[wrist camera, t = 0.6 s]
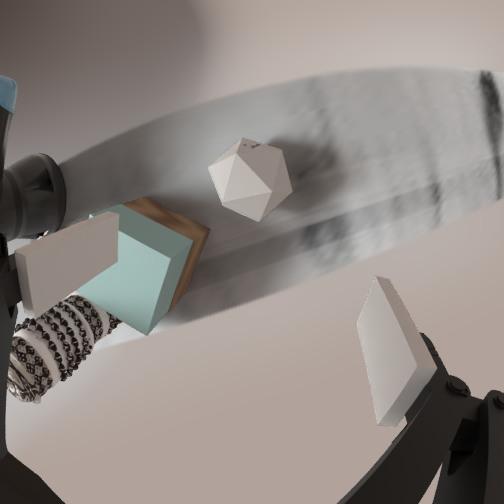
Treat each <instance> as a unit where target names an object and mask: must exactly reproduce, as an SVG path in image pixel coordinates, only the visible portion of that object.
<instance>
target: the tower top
mask: <svg viewBox="0 0 504 504" xmlns="http://www.w3.org/2000/svg"><path fill="white" fill-rule="evenodd" d="M107 211H109V212H114V213H118V214H119V231H118V262H117V263H115V264H114V265H112V266H111V267H109V268H108V269H106V270H105V271H103V272H102V273H100V274H99V275H97V276H96V277H94V278H93V279H91V280H90V281H88V282H87V283H86V284H84V285H83V286H81V287H80V288H78V291H77V292H78V293H80V294H81V295H83V296H84V297H86V298H87V299H89V300H90V301H92V302H93V303H95V304H96V305H98V306H99V307H101V308H102V309H104V310H105V311H107V312H108V313H110V314H111V315H113V316H115V317H116V318H118V319H119V320H121V321H123V322H124V323H126V324H128V325H129V326H131V327H133V328H134V329H136V330H138V331H139V332H141V333H143V334H144V335H146V336H147V335H148V334H149V333H150V332H151V331H152V329H153V328H154V327H155V326H156V325H157V324H158V322H159V321H160V320H161V319H162V318H163V317H164V315H165V314H166V313H167V312H168V310H169V307H170V304H171V301H172V298H173V296H174V293H175V290H176V287H177V284H178V281H179V279H180V276H181V273H182V270H183V267H184V265H185V262H186V259H187V257H188V254H189V251H190V249H191V246H192V243H193V240H191V239H189V238H187V237H185V236H183V235H181V234H179V233H177V232H175V231H173V230H171V229H169V228H167V227H165V226H163V225H161V224H159V223H157V222H155V221H153V220H151V219H149V218H147V217H145V216H143V215H141V214H139V213H137V212H136V211H134V210H132V209H130V208H128V207H126V206H124V205H122V204H117V205H114V206H111V207H109V208H106V209H103V210H100V211H97V212H94V213H91V214H89V218H92V217H94V216H97V215H99V214H102V213H105V212H107Z"/></svg>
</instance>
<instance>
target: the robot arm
mask: <svg viewBox="0 0 504 504" xmlns="http://www.w3.org/2000/svg"><path fill="white" fill-rule="evenodd" d="M17 89H18V88H17V84H16V82H15V81H14V80H12V79H11V78H7V77H5V76H1V75H0V504H65V503H64V502H63V501H62V500H61V499H60V498H59V497H58V496H57V495H56V494H55V493H54V492H53V491H52V490H51V489H50V488H49V487H48V485H47V484H46V483H45V482H44V481H43V480H42V479H41V478H40V477H39V476H38V475H37V474H36V473H34V472H33V471H32V470H30V469H29V468H28V467H26V466H25V465H24V464H22V463H21V462H20V461H19V460H18V459H16V458H15V457H14V456H13V455H12V454H10V453H9V452H8V450H7V446H6V439H5V414H6V392H7V380H8V370H9V362H10V354H11V347H12V341H13V335H14V330H15V324H16V319H17V314H18V308H17V303H19V302H20V301H22V303H23V308H24V312H25V313H26V314H27V315H29V316H31V317H32V318H34V319H37V318H38V317H40V316H41V315H42V314H44V313H45V312H46V311H48V310H49V309H51V308H52V307H53V306H55V305H56V304H57V303H59V302H60V301H62V300H63V299H64V298H66V297H67V296H69V295H70V294H71V293H73V292H74V291H76V290H77V289H78V288H80V287H81V286H83V285H84V284H86V283H87V282H88V281H90V280H91V279H93V278H94V277H96V276H97V275H99V274H100V273H102V272H103V271H105V270H106V269H108V268H109V267H111V266H112V265H114V264H115V263H117V262H118V231H119V214H118V213H114V212H109V211H107V212H105V213H102V214H99V215H97V216H94V217H92V218H89V219H87V220H84V221H81V222H79V223H77V224H74V225H72V226H69V227H67V228H64V229H62V230H60V231H57V230H58V228H59V227H60V225H61V223H62V220H63V217H64V213H65V207H66V192H65V185H64V181H63V177H62V174H61V172H60V169H59V167H58V166H57V164H56V163H55V162H54V160H53V159H52V158H50V157H49V156H48V155H46V154H42V153H39V154H31V155H28V156H25V157H24V158H22V159H20V160H18V161H17V162H15V163H14V164H12V165H10V166H9V167H7V168H6V169H4V163H5V155H6V147H7V141H8V135H9V131H10V126H11V121H12V117H13V115H14V106H15V100H16V95H17ZM56 231H57V232H56ZM16 238H17V239H39V240H37V241H34V242H32V243H30V244H28V245H25V246H23V247H21V248H19V249H17V250H15V253H14V254H12V255H9V256H8V248H7V242H9V241H11V240H13V239H16ZM356 325H357V329H358V333H359V337H360V342H361V346H362V350H363V355H364V359H365V364H366V368H367V373H368V377H369V382H370V387H371V392H372V398H373V403H374V408H375V414H376V420H377V425H380V426H397V425H398V423H399V422H400V421H401V420H402V419H403V417H404V416H405V417H406V421H407V425H406V426H405V427H404V429H403V430H402V431H401V432H400V433H399V435H398V436H397V437H396V438H395V439H394V440H393V442H392V444H391V445H390V447H389V448H388V449H387V450H386V451H385V453H384V454H383V455H382V456H381V458H380V459H379V460H378V461H377V462H376V463H375V464H374V466H373V467H372V468H371V469H370V470H369V471H368V473H367V474H366V475H365V476H364V477H363V478H362V479H361V480H360V481H359V482H358V483H357V484H356V486H354V487H353V488H352V489H351V490H350V492H348V494H346V495H345V496H344V497H343V498H342V499H341V500H340V501H339V502H338V503H337V504H418V503H419V502H420V500H421V499H422V497H423V495H424V494H425V492H426V490H427V489H428V487H429V485H430V484H431V482H432V480H433V478H434V477H435V475H436V473H437V471H438V469H439V467H440V466H441V463H442V462H443V463H442V469H441V472H440V477H439V481H438V485H437V489H436V492H435V496H434V500H433V503H432V504H504V393H502V392H500V391H497V390H491V391H490V392H489V393H488V394H487V395H486V397H485V398H484V399H483V400H482V399H478V398H475V397H472V396H471V392H470V390H469V387H468V386H467V385H466V384H465V382H463V381H462V380H461V379H459V378H457V377H455V376H451V375H449V374H448V372H447V370H446V368H445V366H444V365H443V362H442V361H441V359H440V357H439V355H438V353H437V351H436V350H435V347H434V345H433V343H432V342H431V340H430V339H429V338H428V337H427V336H426V335H424V333H420V332H419V331H418V329H417V327H416V325H415V323H414V322H413V320H412V318H411V316H410V314H409V313H408V311H407V309H406V307H405V305H404V304H403V302H402V300H401V298H400V297H399V295H398V293H397V291H396V290H395V288H394V287H393V285H392V283H391V281H390V280H389V279H387V278H383V277H379V276H375V277H374V280H373V283H372V286H371V288H370V291H369V294H368V296H367V299H366V301H365V304H364V307H363V309H362V311H361V314H360V316H359V319H358V321H357V324H356Z"/></svg>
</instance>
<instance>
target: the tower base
mask: <svg viewBox="0 0 504 504" xmlns="http://www.w3.org/2000/svg"><path fill="white" fill-rule="evenodd" d="M122 205H124V206H126V207H128V208H130V209H132V210H134V211H136V212H137V213H139V214H141V215H143V216H145V217H147V218H149V219H151V220H153V221H155V222H157V223H159V224H161V225H163V226H165V227H167V228H169V229H171V230H173V231H175V232H177V233H179V234H181V235H183V236H185V237H187V238H189V239H191V240H193V243H192V246H191V249H190V251H189V254H188V257H187V259H186V262H185V265H184V267H183V270H182V273H181V276H180V279H179V281H178V284H177V287H176V290H175V293H174V296H173V298H172V301H171V304H170V307H169V310H168V312H169V311H170V310H171V309H172V308H173V307H174V305H175V304H176V303H177V302H178V301H179V300H180V298H181V297H182V296H183V295H184V294H185V292H186V290H187V287H188V284H189V282H190V279H191V276H192V274H193V271H194V269H195V266H196V263H197V261H198V258H199V256H200V253H201V251H202V248H203V246H204V243H205V240H206V238H207V235H208V233H209V230H210V229H208V228H206V227H204V226H202V225H200V224H198V223H196V222H194V221H192V220H190V219H188V218H186V217H184V216H182V215H180V214H177V213H175V212H173V211H171V210H169V209H167V208H165V207H163V206H161V205H159V204H157V203H155V202H153V201H151V200H149V199H147V198H145V197H143V198H140V199H137V200H134V201H130V202H127V203H124V204H122Z"/></svg>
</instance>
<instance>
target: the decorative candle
mask: <svg viewBox="0 0 504 504" xmlns="http://www.w3.org/2000/svg"><path fill="white" fill-rule="evenodd" d="M77 291H78V289H77V290H76V291H74V292H73V293H71V294H70V295H69V296H68V297H67V298H66V299H65V300H63V301H60V302H59V303H57V304H56V305H55V306H53V307H52V308H51V309H49V310H48V311H46V312H45V313H44V314H42V315H41V316H40V317H38V318H37V319H34V318H33V319H29V318H26V319H25V321H24V322H23V324H22V325H21V324H18V325H17V326H16V328H15V334H14V335H13V341H12V347H11V354H10V362H9V370H8V380H7V389H8V390H9V391H10V392H11V393H12V394H13V395H14V396H15V397H16V398H17V399H19V400H21V401H23V402H33V403H36V404H38V403H41V396H42V395H44V394H45V393H46V392H47V390H48V389H50V388H52V387H54V386H55V385H56V383H58V381H59V380H60V378H62V379H61V381H65V380H66V379H67V377H68V376H72V372H73V370H77V369H78V365H79V364H80V363H81V360H86V355H89V354H91V351H92V350H93V347H94V344H95V343H96V341H98V340H100V339H102V338H103V337H104V336H106V335H107V334H110V333H111V332H112V331H111V330H112V329H115V328H116V327H117V325H118V324H120V323H122V322H123V321H121V320H119V319H118V318H116V317H115V316H113V315H111V314H110V313H108V312H107V311H105V310H104V309H102V308H101V307H99V306H98V305H96V304H95V303H93V302H92V301H90V300H89V299H87V298H86V297H84V296H83V295H81V294H80V293H78V292H77ZM47 312H48V313H47ZM46 313H47V314H46ZM28 324H29V327H27V326H28ZM21 328H22V329H21ZM80 356H81V357H80ZM73 363H75V364H73ZM66 371H67V373H65V372H66Z"/></svg>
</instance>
